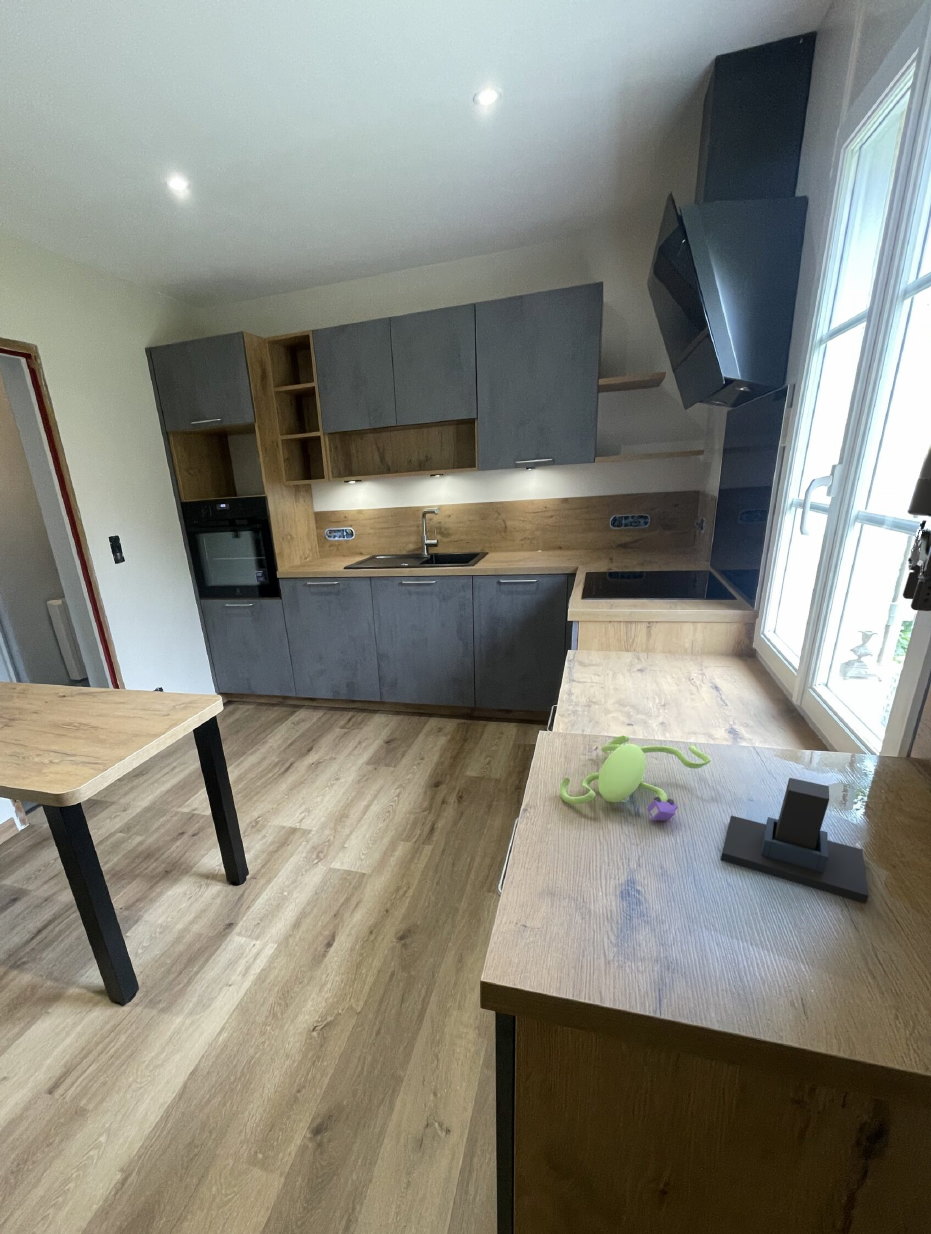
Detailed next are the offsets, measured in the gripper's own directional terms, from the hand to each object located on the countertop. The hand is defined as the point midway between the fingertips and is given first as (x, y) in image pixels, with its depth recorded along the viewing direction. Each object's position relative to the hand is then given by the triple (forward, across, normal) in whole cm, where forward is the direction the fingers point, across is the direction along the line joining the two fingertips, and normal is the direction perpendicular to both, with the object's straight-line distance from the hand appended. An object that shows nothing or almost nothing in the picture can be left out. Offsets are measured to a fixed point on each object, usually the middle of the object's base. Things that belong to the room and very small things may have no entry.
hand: (916, 604), depth 74 cm
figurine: (+33, -8, +31) cm, 46 cm away
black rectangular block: (+32, -18, +8) cm, 37 cm away
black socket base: (+33, -18, +7) cm, 38 cm away
